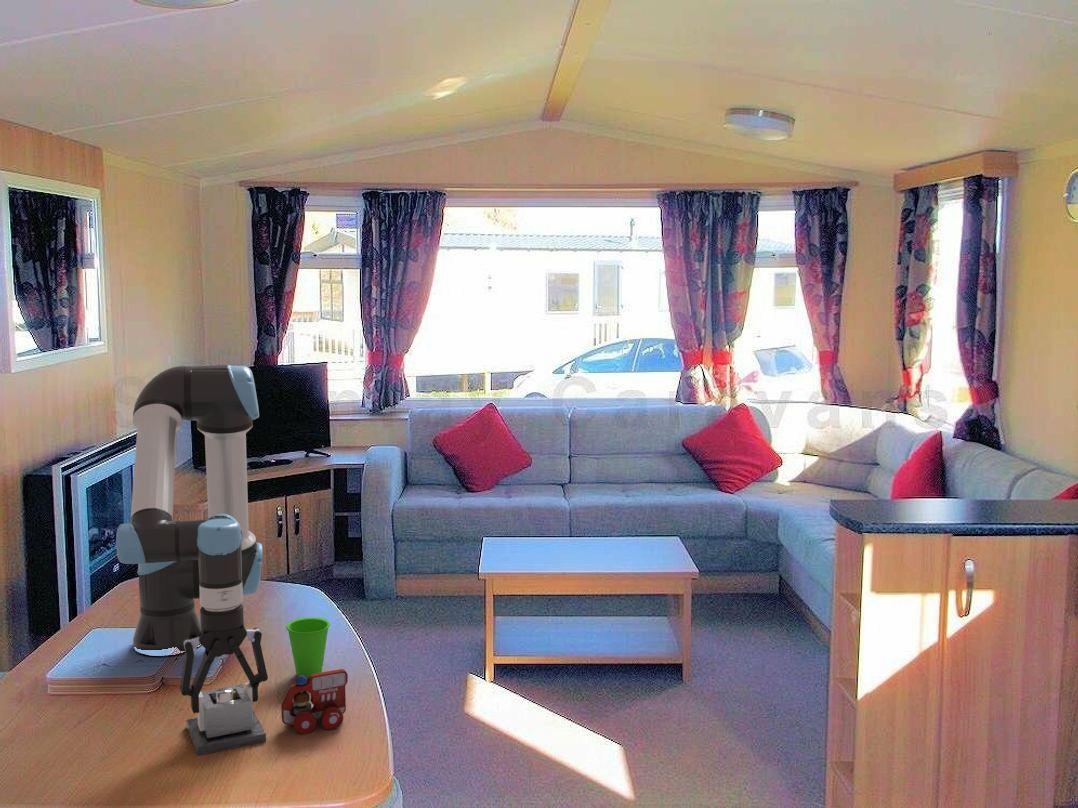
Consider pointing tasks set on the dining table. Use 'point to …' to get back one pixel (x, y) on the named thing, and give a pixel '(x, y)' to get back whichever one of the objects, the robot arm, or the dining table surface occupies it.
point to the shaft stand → (228, 740)
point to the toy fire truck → (316, 701)
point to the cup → (308, 644)
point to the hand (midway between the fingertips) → (225, 722)
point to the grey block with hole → (227, 713)
